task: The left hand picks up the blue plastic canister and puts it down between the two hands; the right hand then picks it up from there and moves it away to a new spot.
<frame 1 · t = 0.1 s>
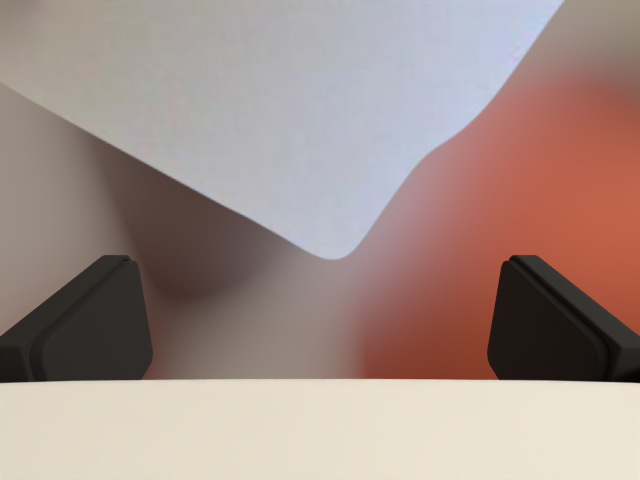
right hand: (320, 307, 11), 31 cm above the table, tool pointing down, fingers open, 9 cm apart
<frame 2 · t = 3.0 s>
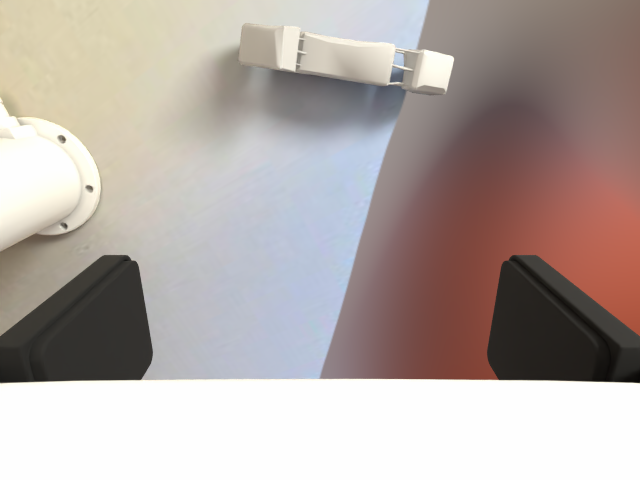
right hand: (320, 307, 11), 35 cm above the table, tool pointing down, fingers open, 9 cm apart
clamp: (344, 62, 41), on the table
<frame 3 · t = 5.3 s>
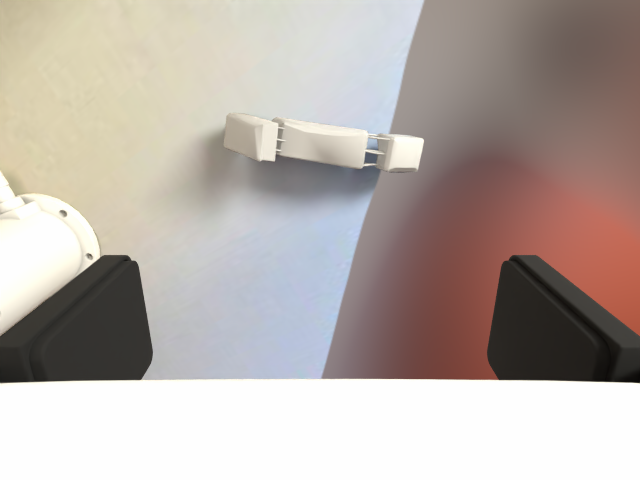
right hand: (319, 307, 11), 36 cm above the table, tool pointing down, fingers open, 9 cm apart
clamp: (323, 141, 44), on the table
when the left hand's fingers open (2 cm above the table, at t = 7.8 s): canister drops 1 cm, on the table.
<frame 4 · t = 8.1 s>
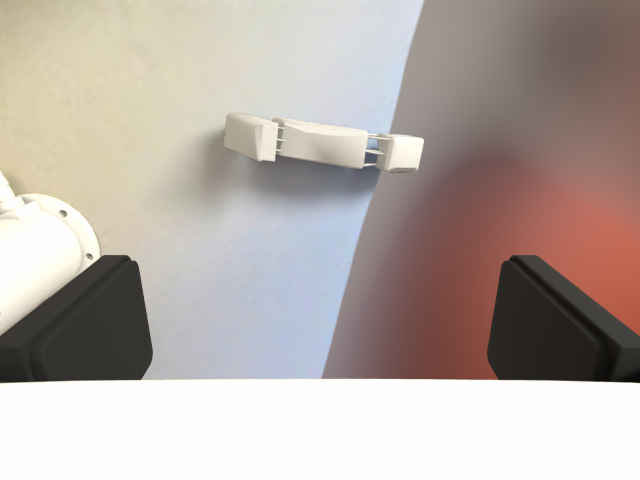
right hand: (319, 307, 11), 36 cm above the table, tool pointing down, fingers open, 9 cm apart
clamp: (323, 141, 44), on the table
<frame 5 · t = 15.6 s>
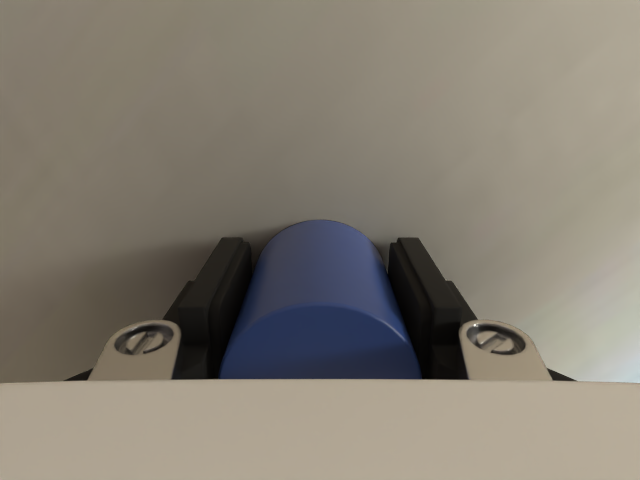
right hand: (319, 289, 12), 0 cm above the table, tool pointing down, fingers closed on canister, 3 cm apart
canister: (320, 281, 12), on the table, touching right hand
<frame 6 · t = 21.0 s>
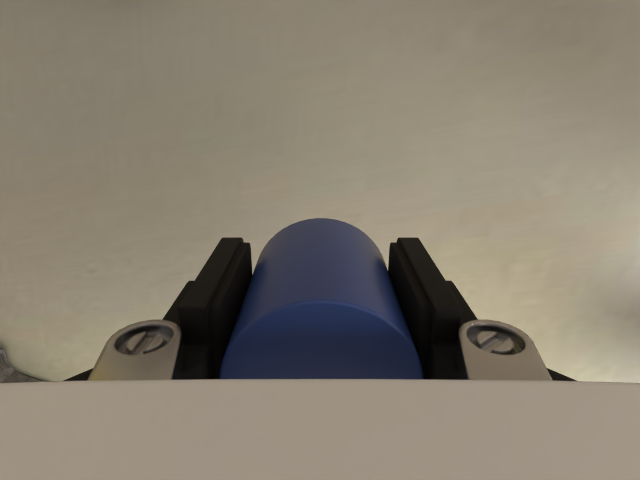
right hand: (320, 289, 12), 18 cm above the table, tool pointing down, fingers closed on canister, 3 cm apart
canister: (320, 280, 12), point 18 cm above the table, touching right hand
when the right hand's fingers open (2 cm above the table, at t = 26.3 s): canister drops 1 cm, on the table.
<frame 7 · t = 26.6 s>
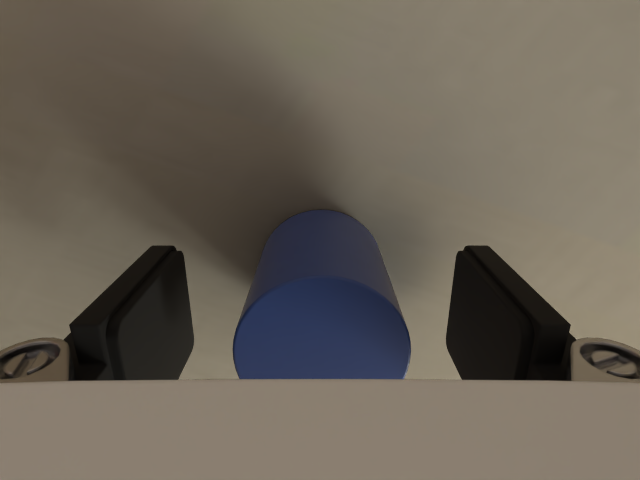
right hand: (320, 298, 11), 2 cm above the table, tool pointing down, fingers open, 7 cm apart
canister: (321, 266, 13), on the table
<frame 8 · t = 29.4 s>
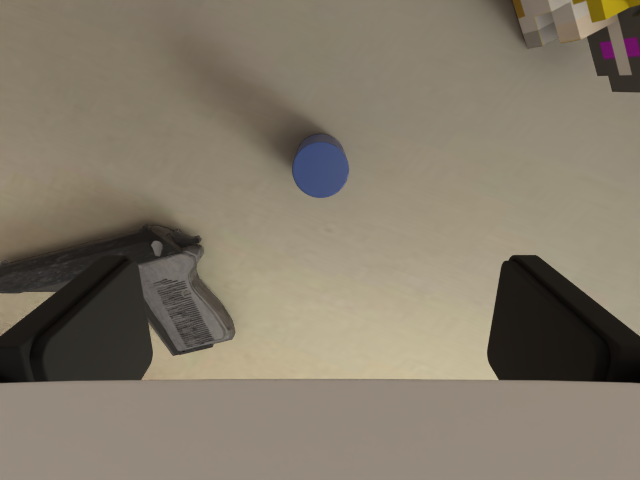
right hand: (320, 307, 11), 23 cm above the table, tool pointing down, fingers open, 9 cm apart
handgun: (126, 295, 37), on the table
canister: (320, 158, 32), on the table
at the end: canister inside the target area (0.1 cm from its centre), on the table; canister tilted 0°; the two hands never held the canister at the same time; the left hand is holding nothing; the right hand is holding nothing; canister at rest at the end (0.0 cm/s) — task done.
